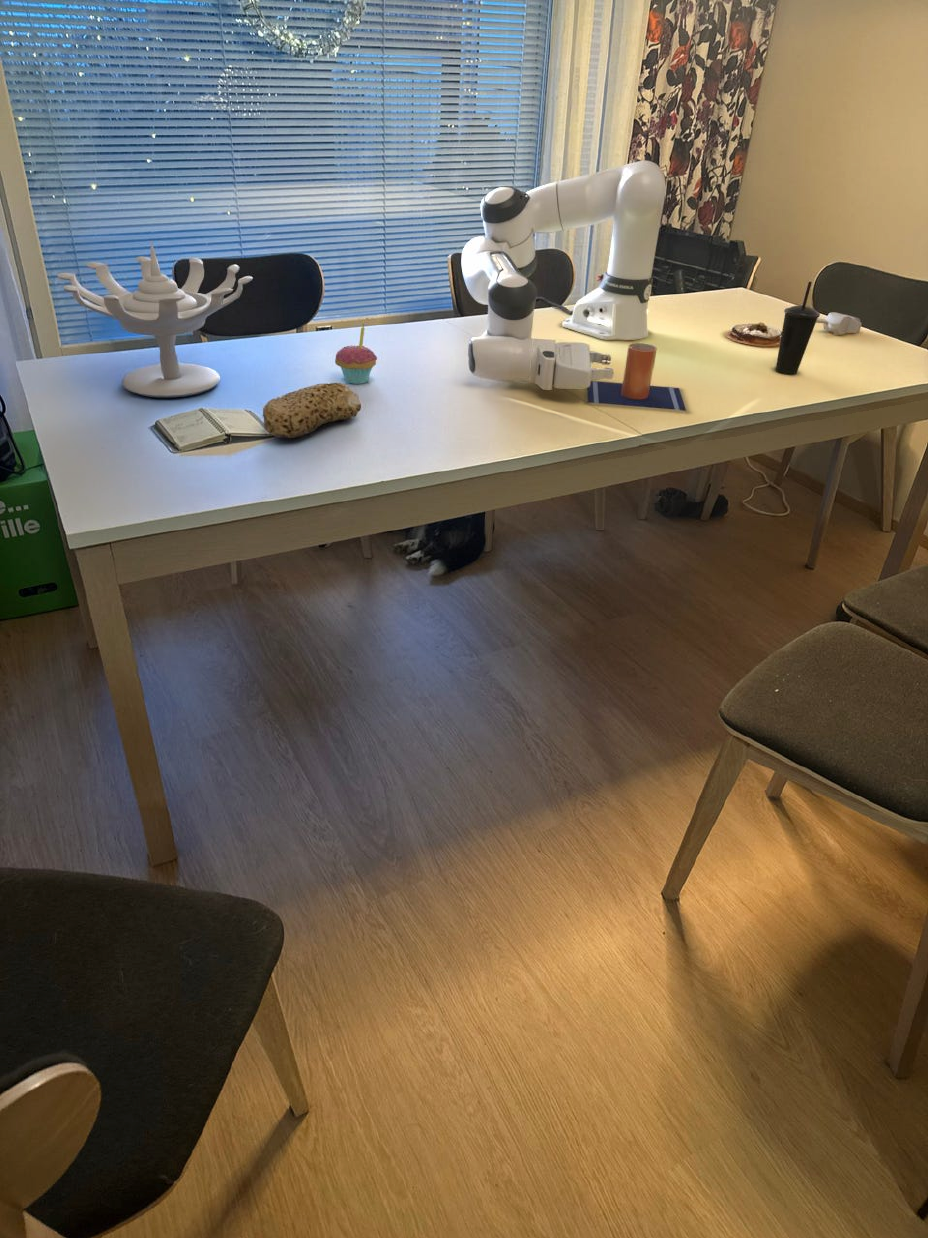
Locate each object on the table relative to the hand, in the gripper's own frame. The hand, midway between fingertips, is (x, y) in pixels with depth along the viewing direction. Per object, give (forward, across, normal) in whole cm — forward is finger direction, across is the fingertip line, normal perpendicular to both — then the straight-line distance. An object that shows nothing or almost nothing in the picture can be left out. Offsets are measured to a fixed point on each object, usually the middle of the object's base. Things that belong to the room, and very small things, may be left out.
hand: (611, 366), depth 173 cm
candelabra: (-88, +15, -6) cm, 90 cm away
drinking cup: (+43, -26, -6) cm, 51 cm away
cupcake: (-53, +3, -6) cm, 54 cm away
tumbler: (+6, 0, -6) cm, 8 cm away
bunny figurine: (+65, -65, -6) cm, 93 cm away
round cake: (+41, -53, -6) cm, 68 cm away
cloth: (+6, 0, -6) cm, 8 cm away
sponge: (-56, +31, -6) cm, 64 cm away
